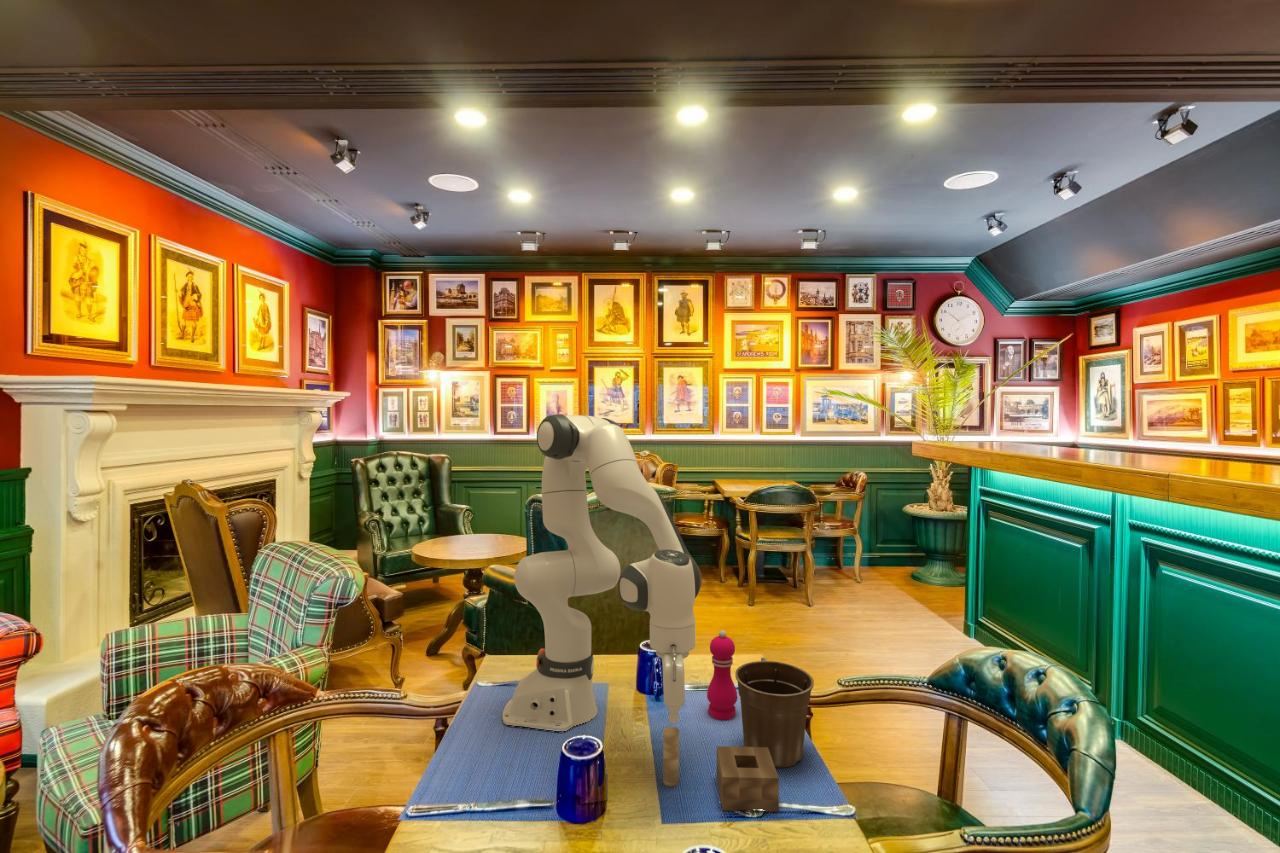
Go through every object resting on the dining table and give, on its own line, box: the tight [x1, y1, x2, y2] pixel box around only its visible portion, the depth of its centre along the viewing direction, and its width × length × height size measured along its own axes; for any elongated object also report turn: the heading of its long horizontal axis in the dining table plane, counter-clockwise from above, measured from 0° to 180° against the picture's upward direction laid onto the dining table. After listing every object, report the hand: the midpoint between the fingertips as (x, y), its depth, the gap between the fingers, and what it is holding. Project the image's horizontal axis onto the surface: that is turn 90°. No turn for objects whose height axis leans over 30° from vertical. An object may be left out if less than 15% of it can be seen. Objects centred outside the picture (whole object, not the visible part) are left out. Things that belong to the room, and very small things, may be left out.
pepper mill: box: [706, 629, 738, 721], centre depth 139 cm, size 7×7×20 cm
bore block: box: [716, 745, 780, 813], centre depth 109 cm, size 10×10×6 cm
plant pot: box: [734, 660, 815, 769], centre depth 123 cm, size 16×16×16 cm
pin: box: [662, 726, 680, 788], centre depth 112 cm, size 3×3×10 cm
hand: (672, 708), depth 112 cm, fingers open, 8 cm apart
